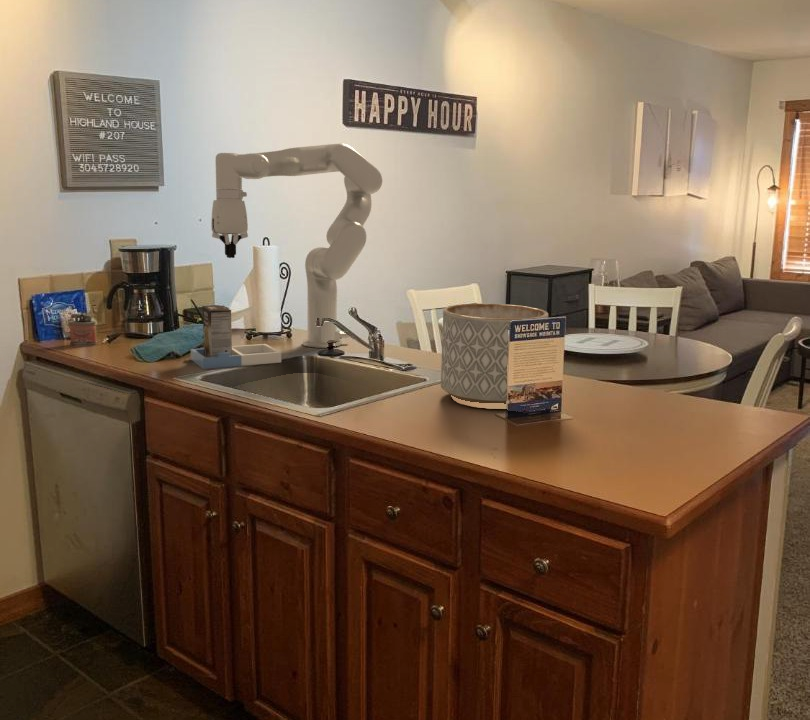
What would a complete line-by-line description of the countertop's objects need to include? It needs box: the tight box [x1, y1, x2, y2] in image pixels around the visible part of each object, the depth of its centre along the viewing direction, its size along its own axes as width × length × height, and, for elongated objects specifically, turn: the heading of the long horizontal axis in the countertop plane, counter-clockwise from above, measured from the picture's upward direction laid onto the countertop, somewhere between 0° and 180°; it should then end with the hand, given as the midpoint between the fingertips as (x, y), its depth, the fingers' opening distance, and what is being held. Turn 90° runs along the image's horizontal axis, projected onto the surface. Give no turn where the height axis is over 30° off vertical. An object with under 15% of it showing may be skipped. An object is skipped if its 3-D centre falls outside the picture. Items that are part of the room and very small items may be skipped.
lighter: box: [68, 312, 98, 347], centre depth 250 cm, size 8×3×10 cm, turn 94°
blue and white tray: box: [190, 343, 282, 370], centre depth 234 cm, size 23×14×4 cm, turn 119°
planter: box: [440, 303, 549, 404], centre depth 196 cm, size 26×26×22 cm
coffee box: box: [202, 305, 233, 358], centre depth 230 cm, size 9×6×16 cm
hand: (230, 257), depth 241 cm, fingers closed
